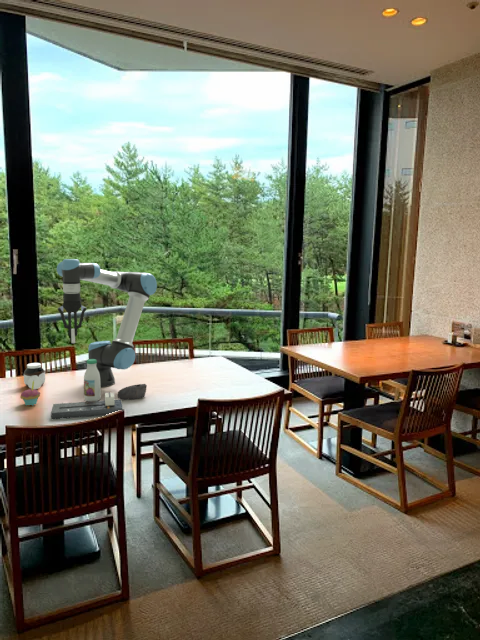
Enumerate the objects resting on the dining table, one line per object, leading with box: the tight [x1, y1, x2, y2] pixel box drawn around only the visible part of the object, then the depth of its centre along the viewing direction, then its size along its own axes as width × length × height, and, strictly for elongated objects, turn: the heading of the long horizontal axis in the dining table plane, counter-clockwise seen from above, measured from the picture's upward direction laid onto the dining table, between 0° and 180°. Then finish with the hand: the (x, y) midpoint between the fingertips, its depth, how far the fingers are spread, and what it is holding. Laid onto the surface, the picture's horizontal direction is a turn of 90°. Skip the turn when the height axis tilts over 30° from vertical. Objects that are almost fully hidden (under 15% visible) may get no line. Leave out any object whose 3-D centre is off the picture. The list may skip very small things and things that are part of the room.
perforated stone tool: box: [117, 383, 147, 401], centre depth 237 cm, size 15×5×7 cm, turn 116°
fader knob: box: [104, 391, 115, 406], centre depth 219 cm, size 6×4×4 cm, turn 17°
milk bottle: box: [83, 358, 102, 402], centre depth 233 cm, size 8×8×20 cm
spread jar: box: [23, 362, 46, 390], centre depth 252 cm, size 12×11×12 cm
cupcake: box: [20, 381, 41, 406], centre depth 225 cm, size 9×8×12 cm
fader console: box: [50, 398, 123, 420], centre depth 217 cm, size 12×30×3 cm, turn 107°
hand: (73, 342), depth 225 cm, fingers closed
